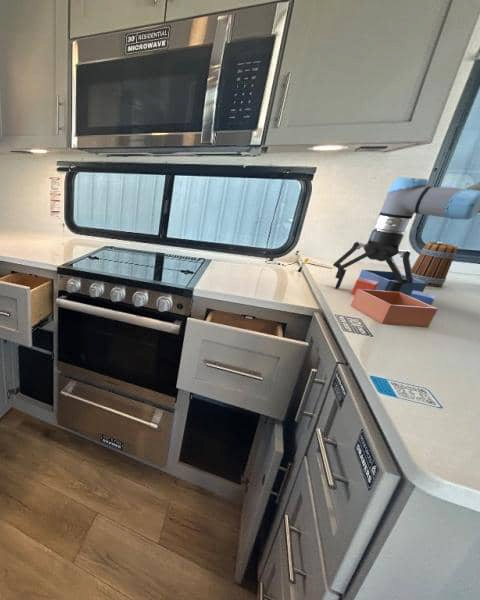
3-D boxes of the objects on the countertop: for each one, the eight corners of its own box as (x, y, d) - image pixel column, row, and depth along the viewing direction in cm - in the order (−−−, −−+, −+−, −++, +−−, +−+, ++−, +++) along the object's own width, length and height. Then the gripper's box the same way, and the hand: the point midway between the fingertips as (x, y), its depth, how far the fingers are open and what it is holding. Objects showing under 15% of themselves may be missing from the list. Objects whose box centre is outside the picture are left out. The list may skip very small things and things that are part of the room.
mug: (443, 289, 121) (464, 249, 115) (405, 281, 127) (423, 243, 121) (440, 280, 132) (459, 243, 126) (405, 273, 138) (421, 238, 132)
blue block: (427, 310, 100) (435, 295, 98) (426, 314, 97) (434, 298, 95) (405, 304, 103) (413, 290, 102) (403, 308, 100) (411, 293, 98)
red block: (372, 295, 110) (378, 281, 108) (369, 299, 106) (376, 284, 105) (354, 291, 113) (359, 277, 111) (350, 294, 110) (356, 280, 108)
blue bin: (419, 298, 109) (427, 283, 107) (382, 296, 110) (388, 280, 108) (390, 286, 121) (396, 271, 119) (356, 283, 121) (361, 269, 119)
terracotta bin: (428, 327, 88) (438, 308, 86) (381, 323, 89) (390, 305, 87) (391, 308, 100) (399, 291, 98) (350, 305, 100) (357, 288, 98)
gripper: (337, 224, 107) (315, 285, 116) (444, 240, 91) (409, 310, 99) (343, 222, 112) (321, 281, 121) (446, 237, 95) (412, 304, 104)
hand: (361, 294), depth 110 cm, fingers open, 13 cm apart
